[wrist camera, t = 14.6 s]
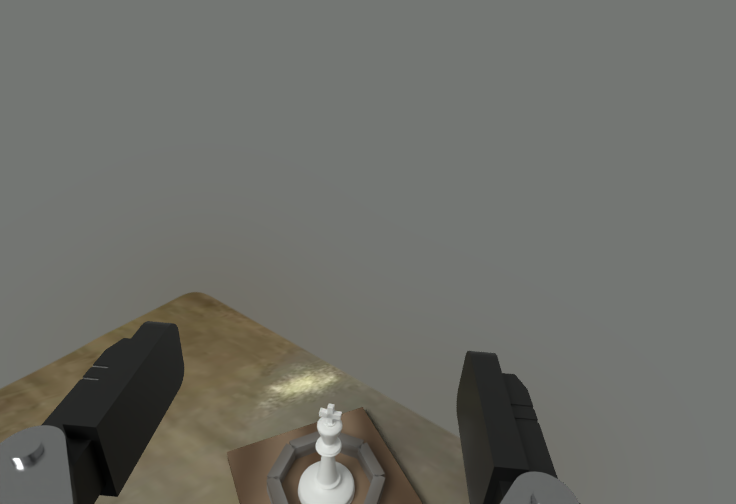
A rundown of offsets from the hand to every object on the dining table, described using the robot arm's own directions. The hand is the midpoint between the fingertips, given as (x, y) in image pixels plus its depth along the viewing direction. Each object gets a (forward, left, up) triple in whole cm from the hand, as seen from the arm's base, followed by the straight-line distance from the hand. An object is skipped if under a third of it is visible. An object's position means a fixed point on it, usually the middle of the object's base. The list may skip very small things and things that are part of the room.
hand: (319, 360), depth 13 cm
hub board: (-7, -14, -29) cm, 33 cm away
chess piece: (-7, -14, -29) cm, 33 cm away
